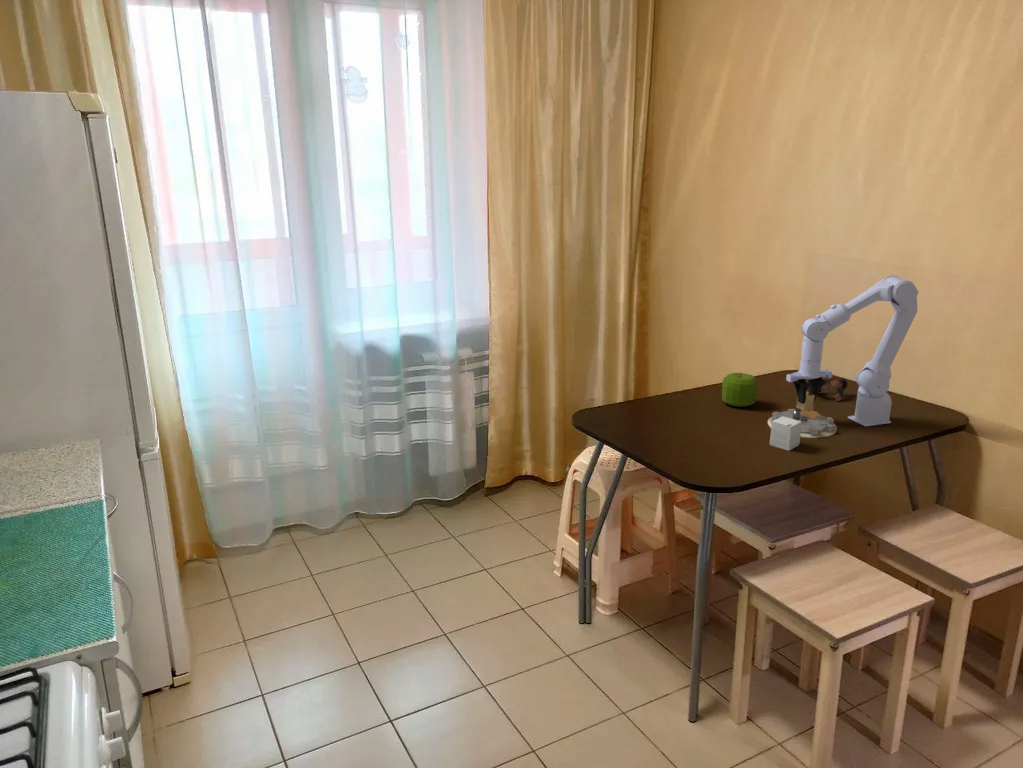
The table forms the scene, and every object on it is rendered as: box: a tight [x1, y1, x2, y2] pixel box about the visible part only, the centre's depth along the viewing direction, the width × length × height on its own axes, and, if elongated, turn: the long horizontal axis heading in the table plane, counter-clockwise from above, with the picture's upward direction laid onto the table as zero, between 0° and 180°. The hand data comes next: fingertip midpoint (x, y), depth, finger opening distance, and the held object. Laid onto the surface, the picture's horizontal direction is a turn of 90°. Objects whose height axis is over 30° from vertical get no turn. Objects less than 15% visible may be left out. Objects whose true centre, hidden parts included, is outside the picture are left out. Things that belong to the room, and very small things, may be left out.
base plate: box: [767, 416, 838, 439], centre depth 225 cm, size 20×20×1 cm
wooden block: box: [795, 391, 815, 412], centre depth 227 cm, size 4×3×5 cm
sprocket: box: [771, 408, 835, 435], centre depth 224 cm, size 18×18×6 cm
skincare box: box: [769, 416, 802, 451], centre depth 210 cm, size 6×6×7 cm
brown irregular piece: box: [818, 375, 849, 402], centre depth 249 cm, size 12×10×8 cm
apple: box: [721, 372, 759, 408], centre depth 242 cm, size 11×11×11 cm
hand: (806, 401), depth 227 cm, fingers closed on wooden block, 3 cm apart
